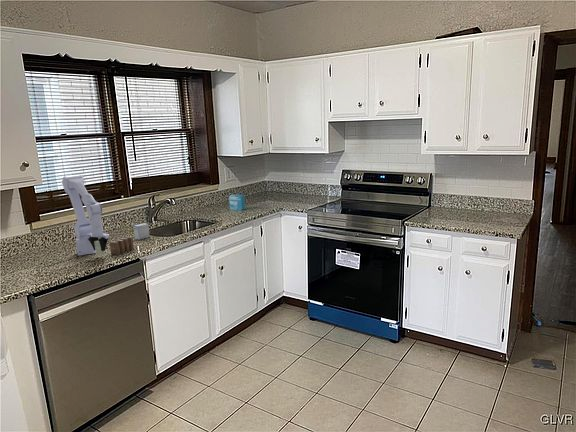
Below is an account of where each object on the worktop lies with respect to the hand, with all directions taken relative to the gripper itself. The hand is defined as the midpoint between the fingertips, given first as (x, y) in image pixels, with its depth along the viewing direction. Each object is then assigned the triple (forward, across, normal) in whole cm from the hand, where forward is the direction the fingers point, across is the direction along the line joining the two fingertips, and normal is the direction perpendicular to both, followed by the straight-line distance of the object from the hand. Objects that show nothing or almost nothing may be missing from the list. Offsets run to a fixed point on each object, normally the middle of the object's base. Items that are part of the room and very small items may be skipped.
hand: (99, 250), depth 236 cm
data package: (+4, +10, +134) cm, 134 cm away
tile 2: (+4, +4, +14) cm, 15 cm away
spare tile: (+2, 0, 0) cm, 2 cm away
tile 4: (+4, +4, +7) cm, 9 cm away
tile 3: (+4, +4, +10) cm, 12 cm away
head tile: (+4, +4, +18) cm, 18 cm away
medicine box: (+4, -6, +39) cm, 40 cm away
